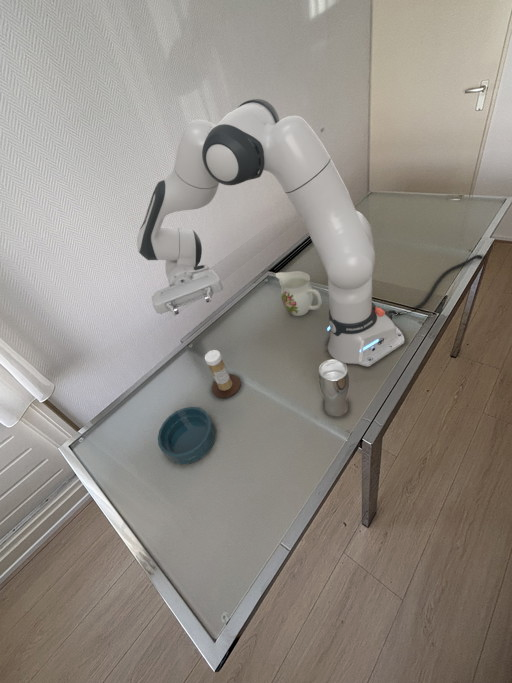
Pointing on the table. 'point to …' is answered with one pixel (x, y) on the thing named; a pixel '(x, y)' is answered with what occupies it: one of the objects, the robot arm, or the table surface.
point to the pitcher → (297, 292)
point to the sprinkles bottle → (218, 369)
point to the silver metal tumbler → (334, 386)
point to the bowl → (187, 435)
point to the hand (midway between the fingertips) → (192, 306)
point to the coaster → (229, 392)
